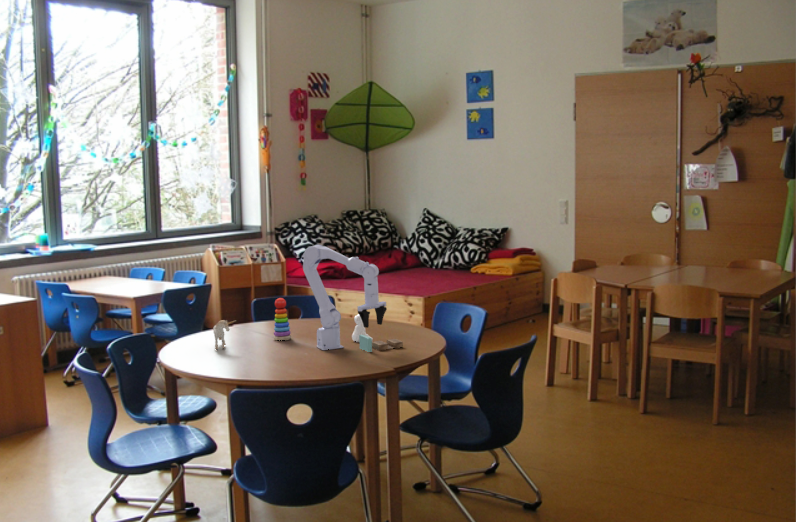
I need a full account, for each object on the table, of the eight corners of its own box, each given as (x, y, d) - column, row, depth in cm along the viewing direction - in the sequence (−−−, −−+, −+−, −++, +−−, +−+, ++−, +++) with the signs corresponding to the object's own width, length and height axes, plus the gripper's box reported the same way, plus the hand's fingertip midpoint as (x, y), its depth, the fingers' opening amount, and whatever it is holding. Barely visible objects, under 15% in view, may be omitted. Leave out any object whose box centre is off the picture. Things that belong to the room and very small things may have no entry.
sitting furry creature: (373, 342, 329) (373, 315, 327) (354, 344, 326) (353, 316, 325) (368, 338, 338) (367, 311, 336) (349, 339, 335) (348, 313, 334)
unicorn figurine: (221, 354, 313) (219, 322, 311) (205, 346, 329) (203, 315, 327) (237, 351, 316) (236, 320, 315) (221, 343, 333) (219, 313, 331)
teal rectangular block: (368, 353, 309) (368, 338, 308) (359, 348, 317) (359, 334, 316) (372, 352, 310) (371, 338, 309) (363, 348, 318) (362, 334, 317)
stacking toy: (293, 337, 342) (291, 296, 340) (289, 341, 334) (287, 299, 332) (276, 337, 343) (274, 296, 341) (271, 341, 335) (269, 299, 333)
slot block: (378, 350, 312) (378, 344, 312) (371, 347, 318) (371, 341, 318) (403, 347, 317) (402, 341, 317) (395, 344, 323) (395, 338, 323)
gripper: (364, 296, 306) (366, 329, 307) (390, 292, 316) (392, 324, 317) (353, 295, 311) (355, 327, 312) (379, 290, 321) (380, 322, 322)
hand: (372, 325), depth 315 cm, fingers open, 7 cm apart
